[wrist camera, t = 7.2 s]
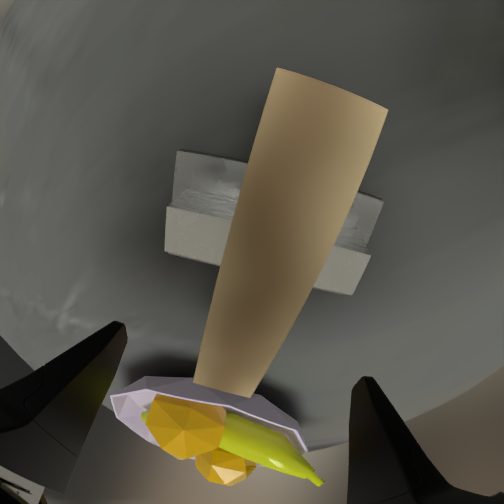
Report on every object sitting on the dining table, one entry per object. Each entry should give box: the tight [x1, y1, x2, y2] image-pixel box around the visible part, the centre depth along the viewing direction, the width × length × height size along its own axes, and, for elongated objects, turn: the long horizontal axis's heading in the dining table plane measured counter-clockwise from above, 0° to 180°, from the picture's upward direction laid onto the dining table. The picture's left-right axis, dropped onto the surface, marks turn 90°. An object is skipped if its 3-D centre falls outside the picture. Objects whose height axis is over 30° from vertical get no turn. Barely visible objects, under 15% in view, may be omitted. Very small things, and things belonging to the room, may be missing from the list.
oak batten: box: [193, 68, 388, 398], centre depth 14 cm, size 4×18×4 cm, turn 164°
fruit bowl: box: [110, 376, 325, 487], centre depth 29 cm, size 28×27×11 cm
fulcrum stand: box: [165, 149, 384, 295], centre depth 17 cm, size 14×8×4 cm, turn 78°
